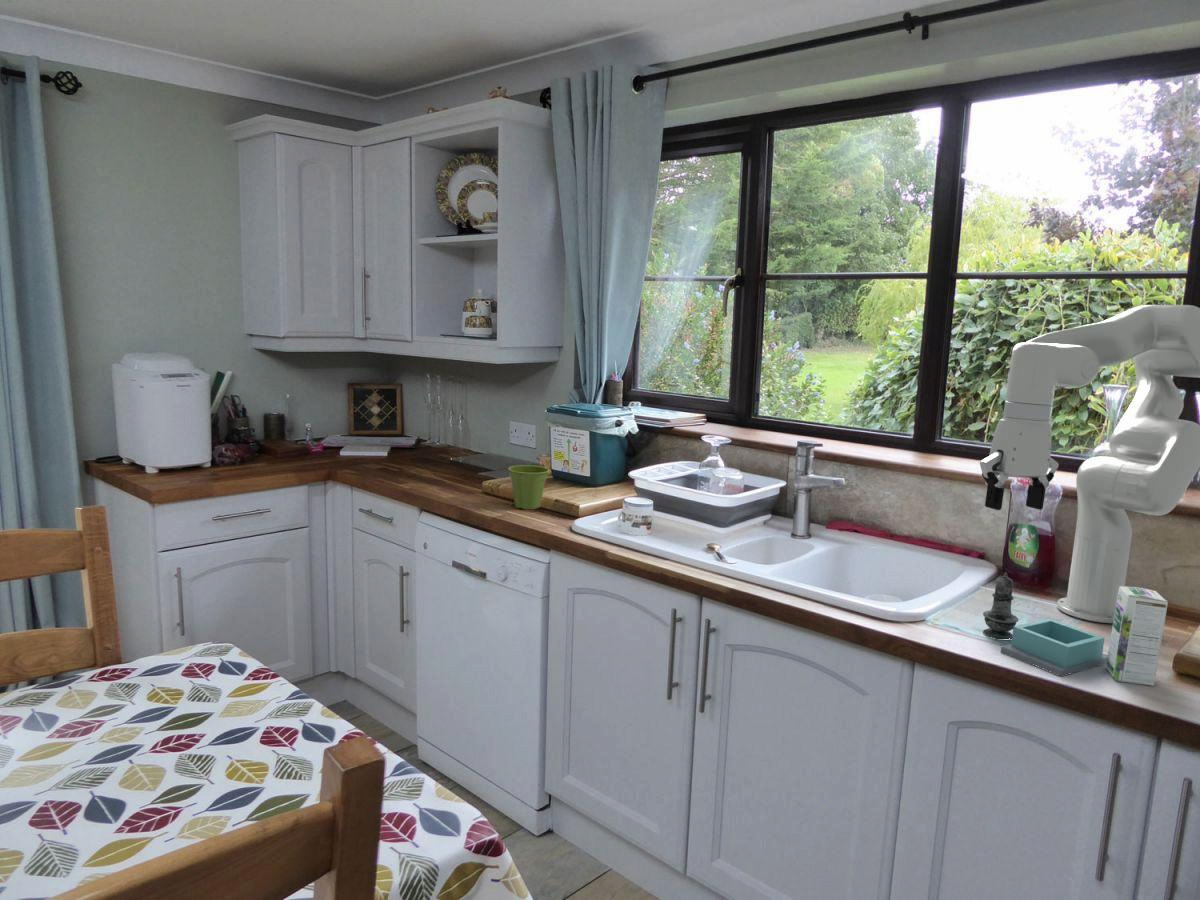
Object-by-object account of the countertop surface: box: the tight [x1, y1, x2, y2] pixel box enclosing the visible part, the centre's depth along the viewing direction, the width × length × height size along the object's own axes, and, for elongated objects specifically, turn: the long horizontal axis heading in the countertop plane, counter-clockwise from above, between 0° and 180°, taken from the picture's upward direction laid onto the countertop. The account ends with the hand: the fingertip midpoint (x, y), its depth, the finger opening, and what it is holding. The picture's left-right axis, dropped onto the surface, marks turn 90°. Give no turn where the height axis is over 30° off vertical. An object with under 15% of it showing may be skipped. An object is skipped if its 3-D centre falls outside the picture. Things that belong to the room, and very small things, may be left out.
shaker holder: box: [1000, 618, 1108, 677], centre depth 144 cm, size 14×11×4 cm
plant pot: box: [507, 464, 551, 511], centre depth 240 cm, size 12×12×11 cm
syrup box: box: [1105, 586, 1169, 687], centre depth 136 cm, size 6×6×14 cm
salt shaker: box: [982, 571, 1019, 640], centre depth 153 cm, size 6×6×12 cm
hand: (1013, 508), depth 150 cm, fingers open, 9 cm apart
